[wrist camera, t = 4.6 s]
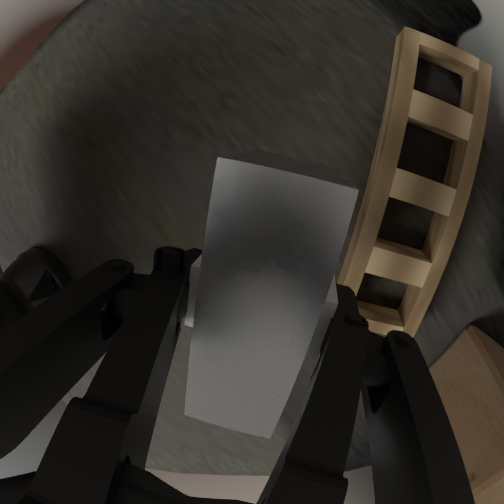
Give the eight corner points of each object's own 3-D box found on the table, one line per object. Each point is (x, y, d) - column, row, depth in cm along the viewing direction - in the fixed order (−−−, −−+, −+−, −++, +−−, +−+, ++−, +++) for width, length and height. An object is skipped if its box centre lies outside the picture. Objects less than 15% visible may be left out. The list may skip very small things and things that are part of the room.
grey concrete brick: (240, 295, 24) (184, 414, 13) (270, 148, 20) (217, 156, 8) (291, 309, 23) (270, 438, 12) (331, 162, 19) (358, 190, 8)
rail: (329, 304, 32) (329, 321, 29) (396, 37, 21) (404, 26, 18) (404, 322, 31) (411, 340, 28) (476, 71, 20) (492, 65, 17)
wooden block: (414, 376, 33) (443, 515, 15) (468, 318, 29) (539, 450, 11) (458, 399, 33) (491, 515, 14) (507, 348, 29) (566, 459, 11)
